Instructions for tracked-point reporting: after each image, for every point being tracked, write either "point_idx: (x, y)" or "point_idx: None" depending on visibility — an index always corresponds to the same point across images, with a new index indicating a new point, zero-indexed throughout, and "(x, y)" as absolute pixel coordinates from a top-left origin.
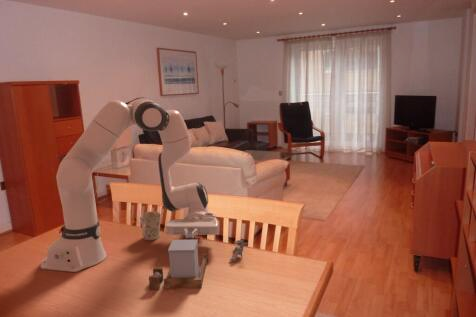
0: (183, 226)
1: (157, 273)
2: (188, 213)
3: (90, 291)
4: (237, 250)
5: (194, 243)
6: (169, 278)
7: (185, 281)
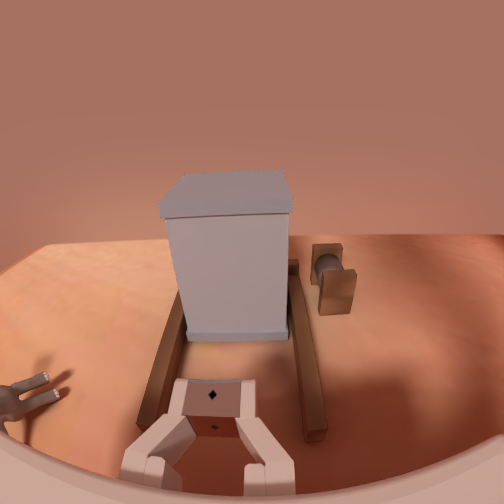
0: (314, 494)
1: (329, 266)
2: None
3: (462, 268)
4: (9, 388)
5: (178, 189)
6: None
7: None
